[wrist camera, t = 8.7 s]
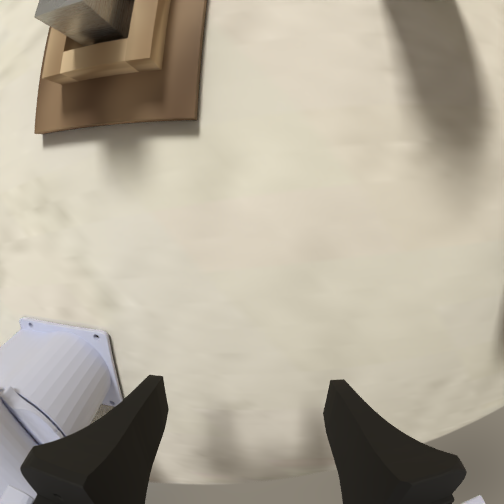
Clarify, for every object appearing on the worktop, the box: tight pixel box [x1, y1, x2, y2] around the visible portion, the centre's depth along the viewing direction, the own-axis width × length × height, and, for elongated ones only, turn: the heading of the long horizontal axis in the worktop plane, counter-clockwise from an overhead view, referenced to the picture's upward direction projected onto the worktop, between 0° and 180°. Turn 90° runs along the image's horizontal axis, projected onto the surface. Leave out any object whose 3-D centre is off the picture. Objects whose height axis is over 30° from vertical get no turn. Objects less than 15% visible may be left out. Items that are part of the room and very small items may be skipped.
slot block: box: [35, 0, 207, 134], centre depth 14 cm, size 12×16×4 cm
